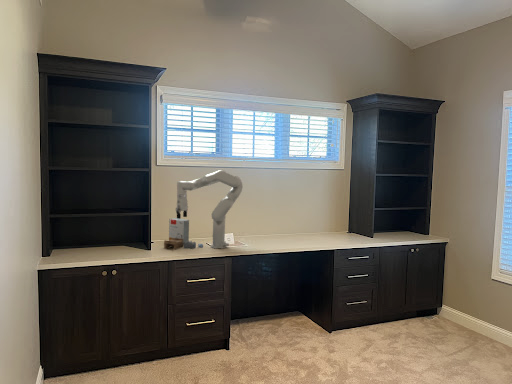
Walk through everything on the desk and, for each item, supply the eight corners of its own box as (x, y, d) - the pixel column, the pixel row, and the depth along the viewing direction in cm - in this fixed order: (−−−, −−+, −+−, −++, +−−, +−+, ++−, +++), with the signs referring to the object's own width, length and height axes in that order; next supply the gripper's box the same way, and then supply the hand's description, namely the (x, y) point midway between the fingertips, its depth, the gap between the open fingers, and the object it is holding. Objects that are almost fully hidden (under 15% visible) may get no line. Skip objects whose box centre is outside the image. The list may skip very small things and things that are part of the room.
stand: (183, 246, 306) (183, 238, 306) (175, 249, 295) (175, 241, 294) (172, 245, 309) (172, 237, 309) (164, 248, 298) (164, 240, 297)
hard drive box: (168, 242, 319) (168, 218, 318) (174, 241, 326) (174, 217, 325) (183, 245, 312) (183, 220, 311) (189, 243, 319) (189, 219, 318)
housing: (195, 248, 303) (195, 241, 303) (192, 249, 298) (192, 242, 297) (186, 247, 305) (186, 240, 305) (183, 248, 300) (183, 241, 300)
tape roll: (203, 246, 308) (203, 244, 307) (201, 247, 304) (201, 244, 304) (199, 246, 309) (199, 243, 308) (197, 247, 305) (197, 244, 305)
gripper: (180, 197, 297) (180, 219, 298) (191, 195, 313) (191, 216, 315) (171, 197, 300) (171, 218, 301) (183, 195, 316) (183, 216, 317)
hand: (181, 217), depth 308 cm, fingers open, 9 cm apart
